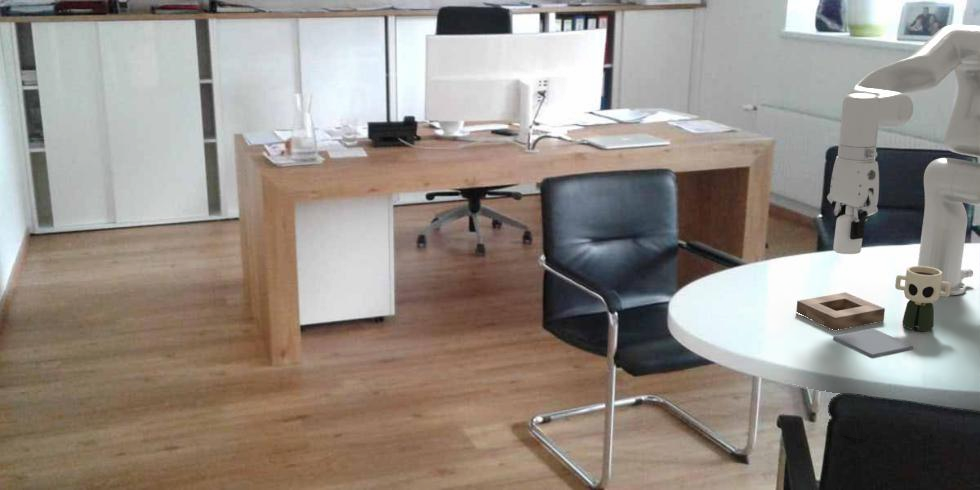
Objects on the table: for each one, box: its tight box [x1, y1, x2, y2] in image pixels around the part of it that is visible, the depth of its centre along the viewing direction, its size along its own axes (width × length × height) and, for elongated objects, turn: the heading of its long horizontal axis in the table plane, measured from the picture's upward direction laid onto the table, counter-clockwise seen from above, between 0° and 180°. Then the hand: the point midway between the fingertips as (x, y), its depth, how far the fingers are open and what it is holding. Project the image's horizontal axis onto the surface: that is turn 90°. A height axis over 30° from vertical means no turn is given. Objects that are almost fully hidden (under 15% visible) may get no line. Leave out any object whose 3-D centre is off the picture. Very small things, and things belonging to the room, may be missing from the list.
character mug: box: [894, 265, 951, 331], centre depth 217 cm, size 11×7×13 cm, turn 59°
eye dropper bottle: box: [832, 205, 863, 255], centre depth 219 cm, size 4×6×12 cm
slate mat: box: [832, 328, 914, 358], centre depth 210 cm, size 11×11×1 cm
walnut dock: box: [796, 292, 886, 331], centre depth 224 cm, size 14×12×3 cm
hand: (848, 235), depth 219 cm, fingers closed on eye dropper bottle, 4 cm apart
